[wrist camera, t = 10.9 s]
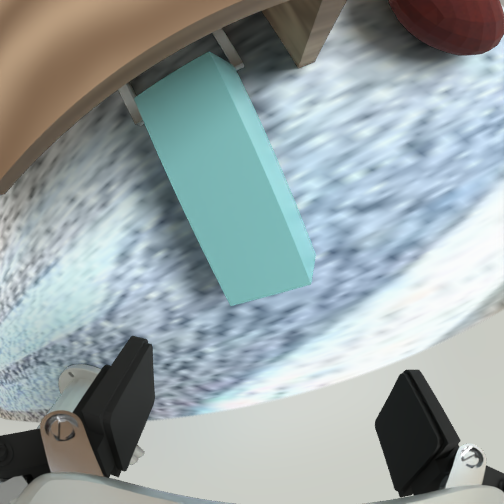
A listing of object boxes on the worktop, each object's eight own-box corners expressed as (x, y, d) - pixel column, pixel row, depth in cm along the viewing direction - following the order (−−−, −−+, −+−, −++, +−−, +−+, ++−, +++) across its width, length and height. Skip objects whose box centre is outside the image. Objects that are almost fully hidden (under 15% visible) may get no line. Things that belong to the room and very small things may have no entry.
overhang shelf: (314, 61, 21) (365, -35, 7) (113, 171, 24) (-15, 199, 10) (235, -48, 17) (211, -154, 3) (61, 56, 21) (-48, 24, 7)
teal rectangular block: (169, 101, 22) (133, 98, 18) (233, 65, 20) (209, 51, 15) (248, 275, 26) (230, 306, 22) (315, 254, 24) (311, 284, 20)
